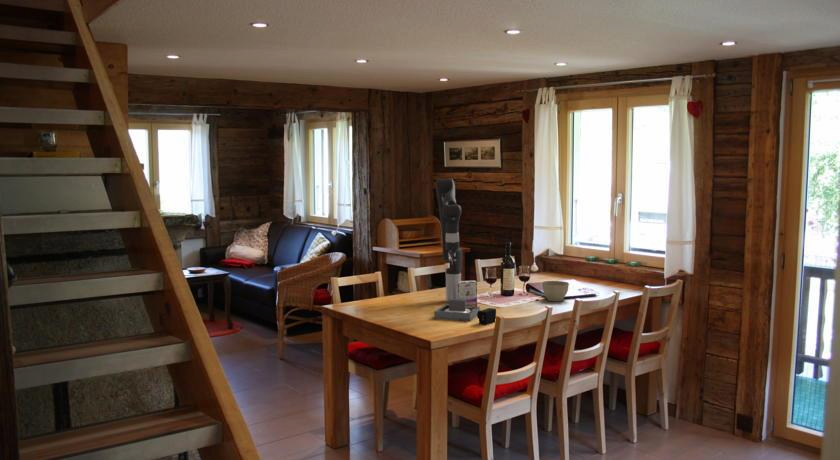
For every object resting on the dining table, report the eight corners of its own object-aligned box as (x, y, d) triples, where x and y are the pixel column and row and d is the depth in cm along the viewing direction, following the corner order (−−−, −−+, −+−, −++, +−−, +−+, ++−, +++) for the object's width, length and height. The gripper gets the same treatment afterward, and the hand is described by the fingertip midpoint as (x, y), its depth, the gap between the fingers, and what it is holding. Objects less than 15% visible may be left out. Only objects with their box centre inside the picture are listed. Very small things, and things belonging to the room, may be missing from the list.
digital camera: (487, 320, 373) (487, 307, 372) (496, 321, 370) (496, 308, 369) (476, 323, 365) (476, 310, 364) (485, 325, 361) (485, 312, 361)
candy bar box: (474, 308, 404) (475, 280, 403) (477, 309, 399) (477, 281, 398) (456, 309, 402) (456, 280, 401) (458, 310, 397) (458, 282, 396)
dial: (442, 314, 378) (442, 301, 377) (447, 308, 391) (447, 297, 390) (467, 315, 374) (467, 302, 374) (472, 310, 388) (472, 298, 387)
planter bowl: (570, 302, 418) (571, 284, 417) (544, 302, 419) (544, 284, 418) (565, 297, 434) (566, 280, 433) (539, 297, 435) (540, 280, 434)
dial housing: (445, 311, 396) (445, 304, 395) (479, 313, 389) (479, 306, 389) (434, 318, 377) (434, 311, 376) (470, 321, 370) (470, 313, 370)
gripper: (443, 239, 392) (444, 267, 394) (447, 242, 378) (448, 272, 380) (456, 238, 393) (457, 267, 395) (461, 242, 379) (461, 271, 381)
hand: (452, 269), depth 388 cm, fingers open, 8 cm apart
